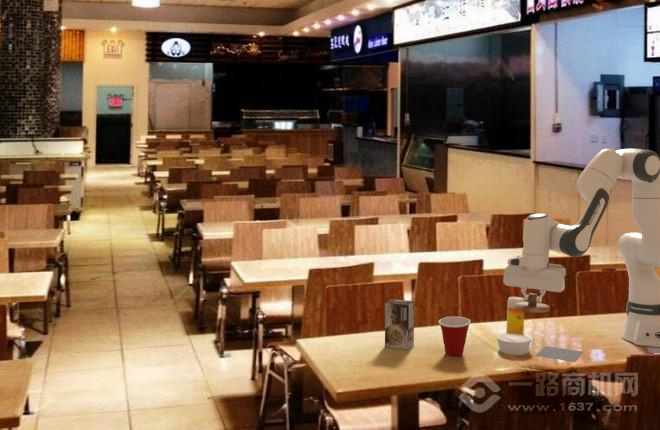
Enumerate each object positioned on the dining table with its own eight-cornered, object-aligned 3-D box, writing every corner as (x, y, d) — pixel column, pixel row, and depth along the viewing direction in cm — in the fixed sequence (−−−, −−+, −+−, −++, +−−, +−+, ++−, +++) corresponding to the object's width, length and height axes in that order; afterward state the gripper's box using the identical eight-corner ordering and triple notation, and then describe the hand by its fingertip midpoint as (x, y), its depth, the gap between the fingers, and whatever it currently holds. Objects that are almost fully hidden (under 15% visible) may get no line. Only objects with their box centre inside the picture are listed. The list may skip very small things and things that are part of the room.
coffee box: (414, 345, 272) (415, 301, 270) (408, 350, 267) (409, 304, 265) (390, 342, 276) (391, 298, 274) (383, 346, 270) (384, 302, 268)
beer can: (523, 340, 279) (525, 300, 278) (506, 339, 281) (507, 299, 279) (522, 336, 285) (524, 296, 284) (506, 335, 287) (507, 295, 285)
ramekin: (492, 354, 263) (493, 339, 263) (503, 346, 273) (503, 331, 272) (524, 359, 257) (525, 344, 257) (534, 351, 267) (535, 336, 266)
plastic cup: (431, 353, 263) (431, 319, 262) (453, 347, 270) (454, 314, 268) (454, 361, 255) (455, 326, 253) (476, 355, 261) (477, 321, 260)
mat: (583, 353, 265) (583, 351, 264) (574, 363, 253) (574, 361, 253) (545, 347, 271) (545, 345, 271) (535, 357, 260) (535, 355, 260)
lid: (553, 307, 264) (553, 293, 263) (545, 314, 254) (546, 299, 253) (519, 303, 269) (520, 289, 269) (510, 309, 259) (511, 294, 259)
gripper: (568, 263, 257) (565, 304, 259) (508, 257, 267) (506, 296, 269) (564, 266, 252) (561, 307, 253) (503, 259, 262) (500, 299, 263)
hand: (532, 301), depth 261 cm, fingers closed on lid, 3 cm apart
